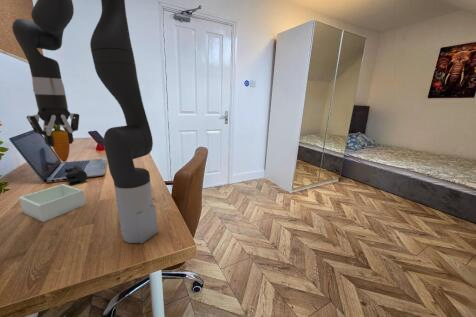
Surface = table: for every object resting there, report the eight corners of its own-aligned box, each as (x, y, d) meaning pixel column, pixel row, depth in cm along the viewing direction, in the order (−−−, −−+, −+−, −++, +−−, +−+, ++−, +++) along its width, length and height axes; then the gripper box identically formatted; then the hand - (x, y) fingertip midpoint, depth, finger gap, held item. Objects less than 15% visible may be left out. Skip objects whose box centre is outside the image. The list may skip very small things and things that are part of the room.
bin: (85, 204, 81) (82, 190, 80) (43, 222, 70) (38, 206, 68) (65, 197, 87) (62, 183, 85) (23, 212, 75) (18, 197, 73)
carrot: (63, 165, 71) (53, 120, 67) (51, 163, 72) (41, 119, 68) (76, 160, 76) (68, 119, 72) (65, 159, 77) (57, 118, 73)
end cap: (88, 182, 102) (86, 169, 100) (70, 186, 97) (67, 172, 95) (83, 177, 109) (81, 164, 107) (66, 180, 104) (63, 167, 102)
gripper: (26, 93, 60) (40, 150, 65) (81, 94, 72) (89, 142, 77) (14, 92, 63) (28, 147, 68) (68, 93, 75) (77, 140, 80)
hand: (60, 144), depth 72 cm, fingers closed on carrot, 5 cm apart
